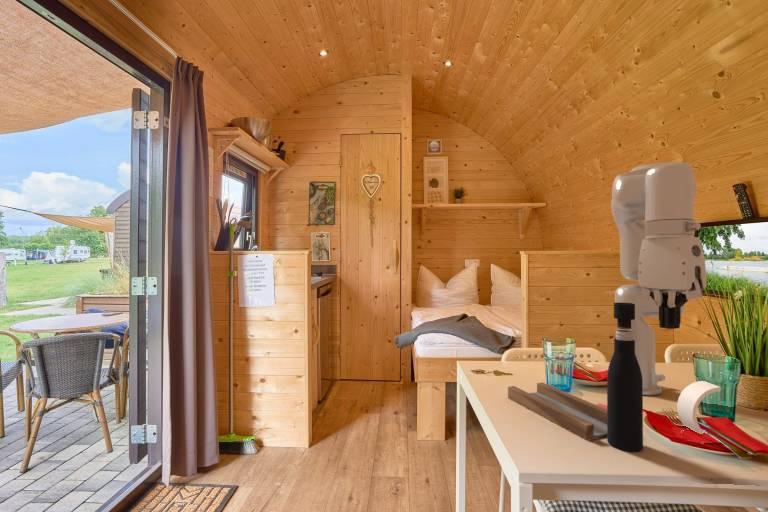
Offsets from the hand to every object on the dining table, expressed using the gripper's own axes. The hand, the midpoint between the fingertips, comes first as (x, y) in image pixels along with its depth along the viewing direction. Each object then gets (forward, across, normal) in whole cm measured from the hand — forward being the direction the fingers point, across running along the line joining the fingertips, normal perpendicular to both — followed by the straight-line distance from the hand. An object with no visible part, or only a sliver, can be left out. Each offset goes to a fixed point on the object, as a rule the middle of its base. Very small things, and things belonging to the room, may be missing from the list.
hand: (669, 327), depth 74 cm
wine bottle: (+27, +10, 0) cm, 28 cm away
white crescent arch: (+26, +7, -18) cm, 33 cm away
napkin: (+26, +24, -11) cm, 37 cm away
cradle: (+26, +28, 0) cm, 38 cm away
